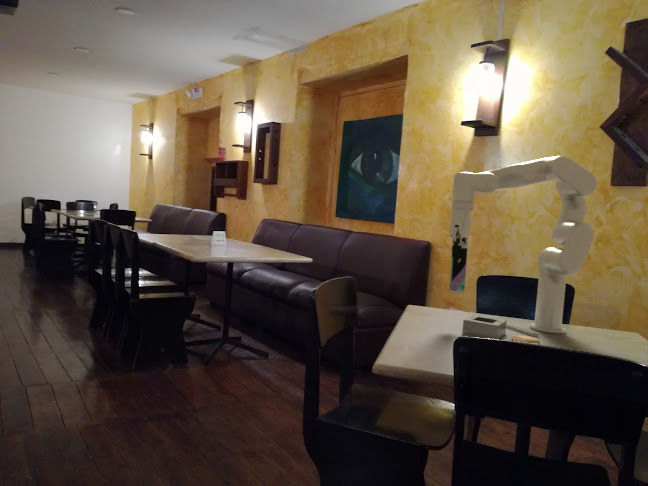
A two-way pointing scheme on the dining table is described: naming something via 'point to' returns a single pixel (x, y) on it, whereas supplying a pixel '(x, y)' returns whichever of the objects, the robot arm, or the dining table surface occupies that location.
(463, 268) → the spray can
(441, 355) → the dining table surface
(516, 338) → the coaster
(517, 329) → the adjustable wrench
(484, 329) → the block
